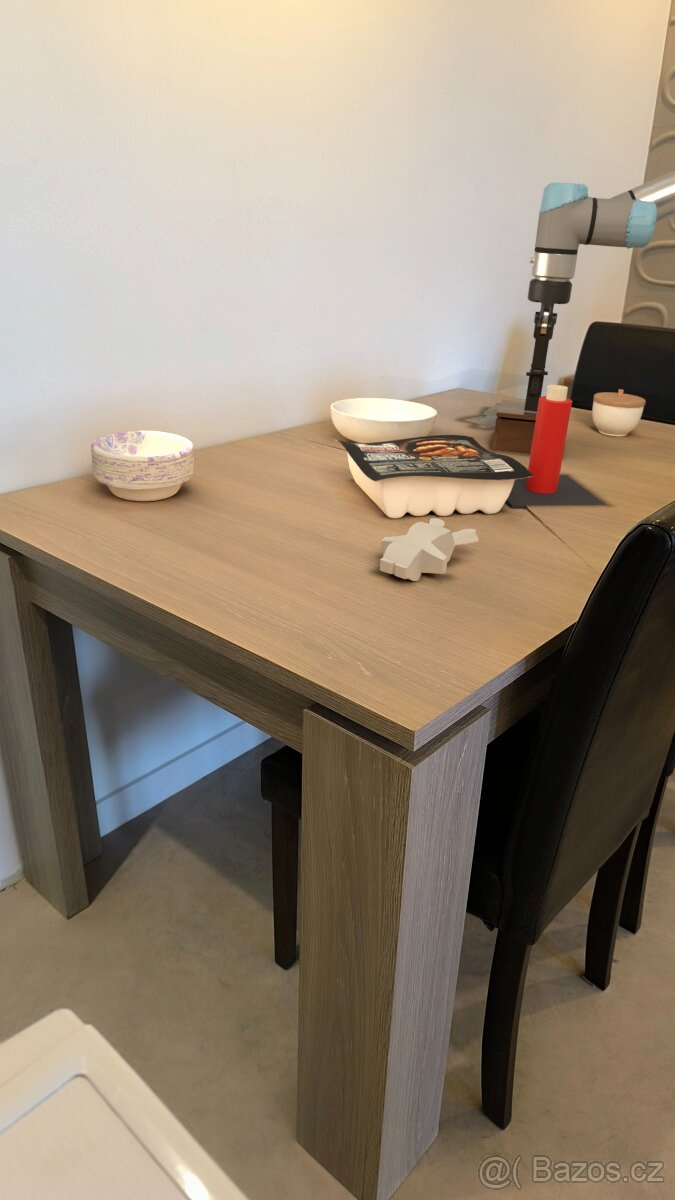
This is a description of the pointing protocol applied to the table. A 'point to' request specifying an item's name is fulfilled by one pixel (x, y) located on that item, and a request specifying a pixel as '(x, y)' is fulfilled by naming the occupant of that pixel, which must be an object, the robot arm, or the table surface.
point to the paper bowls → (142, 464)
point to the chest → (513, 435)
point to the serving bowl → (382, 419)
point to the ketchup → (549, 440)
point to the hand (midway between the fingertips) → (531, 410)
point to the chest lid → (515, 410)
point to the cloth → (488, 417)
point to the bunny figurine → (422, 549)
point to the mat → (551, 495)
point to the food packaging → (433, 475)
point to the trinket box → (616, 412)
